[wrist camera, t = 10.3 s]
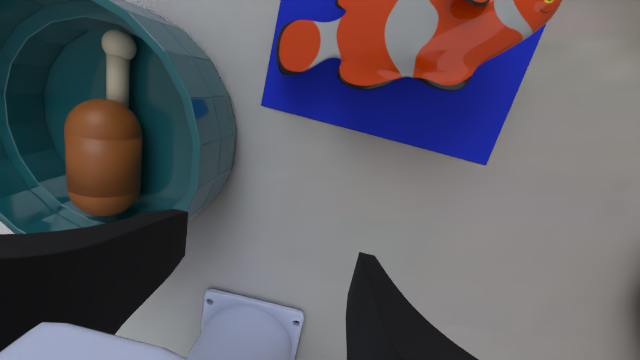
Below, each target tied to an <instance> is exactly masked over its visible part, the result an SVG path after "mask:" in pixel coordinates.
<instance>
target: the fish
mask: <svg viewBox="0 0 640 360" xmlns="http://www.w3.org/2000/svg"><path fill="white" fill-rule="evenodd" d="M561 1H562V0H334V6H335V7H336V8H338V9H340V10H342V11H345V13H344V14H343V15H342V16H341V17H339V18H337V19H335V20H331V21H317V20H312V19H294V20H290V21H288V22H286V23H285V24H284V25H283V26H282V27H281V28H280V30H279V32H278V35H277V38H276V42H275V61H276V66H277V69H278V71H279V73H280V74H282V75H283V76H296V75H300V74H302V73H304V72H307V71H309V70H310V69H312V68H314V67H316V66H317V65H319V64H321V63H322V62H324V61H326V60H329V59H338V60H340V64H339V66H338V68H337V71H336V77H337V79H338V80H339V81H340V82H341V83H342V84H343V85H344V86H346V87H348V88H351V89H354V90H357V91H374V90H378V89H381V88H384V87H386V86H388V85H390V84H392V83H394V82H396V81H398V80H400V79H403V78H412V79H414V80H416V81H418V82H420V83H422V84H424V85H426V86H428V87H430V88H433V89H436V90H440V91H444V92H457V91H460V90H462V89H463V88H465V87H466V86H467V85H468V84H469V82H470V80H471V78H472V77H473V75H474V73H475V71H476V70H477V68H478V67H479V66H481V65H483V64H484V63H486V62H488V61H490V60H492V59H494V58H496V57H498V56H500V55H502V54H503V53H505V52H507V51H508V50H510V49H512V48H514V47H515V46H517V45H519V44H520V43H522V42H523V41H525V40H526V39H528V38H529V37H531V36H532V35H533V34H535V33H536V32H537V31H539V30H540V29H541V28H542V27H544V26H545V25H546V23H547V22H548V21H549V20H550V19H551V18H552V16H553V15H554V14H555V12H556V11H557V9H558V7H559V6H560V4H561Z"/></svg>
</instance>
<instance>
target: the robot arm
mask: <svg viewBox="0 0 640 360" xmlns="http://www.w3.org/2000/svg"><path fill="white" fill-rule="evenodd" d="M187 224H188V212H187V211H182V210H178V209H167V210H162V211H158V212H153V213H149V214H145V215H141V216H137V217H133V218H128V219H124V220H119V221H115V222H110V223H105V224H100V225H95V226H90V227H83V228H76V229H69V230H61V231H50V232H38V233H26V234H0V360H295V355H296V351H297V346H298V342H299V338H300V333H301V329H302V324H303V320H304V313H303V312H302V311H301V310H297V309H293V308H289V307H285V306H281V305H277V304H273V303H269V302H265V301H261V300H257V299H253V298H249V297H245V296H241V295H236V294H232V293H228V292H224V291H220V290H216V289H208V290H207V291H206V293H205V296H204V305H203V314H202V323H201V333H200V336H199V337H198V339H197V341H196V342H195V344H194V345H193V347H192V349H191V350H190V352H189V353H188V355H187V357H186V358H184V357H182V356H180V355H178V354H176V353H174V352H172V351H170V350H168V349H166V348H163V347H159V346H155V345H151V344H147V343H143V342H139V341H135V340H131V339H127V338H123V337H120V336H116V335H115V333H116V332H117V331H118V330H119V328H120V327H121V326H122V325H123V324H124V323H125V321H126V320H127V319H128V318H129V317H130V316H131V315H132V314H133V313H134V312H135V311H136V310H137V309H138V308H139V307H140V306H141V305H142V304H143V303H144V302H145V301H146V299H147V298H148V297H149V296H150V295H151V294H152V293H153V292H154V291H155V290H156V289H157V288H158V287H159V286H160V285H161V284H162V283H163V282H164V281H165V280H166V279H167V278H168V277H169V276H170V275H171V273H172V272H173V271H174V270H175V268H176V267H177V266H178V264H179V263H180V261H181V260H182V258H183V257H184V256H185V248H186V236H187ZM209 299H211V300H212V301H213V302H212V301H210V300H209ZM295 321H298V323H296V322H295ZM346 340H347V360H478V359H477V358H475V357H474V356H472V355H471V354H469V353H468V352H466V351H465V350H464V349H462V348H461V347H459V346H458V345H456V344H455V343H454V342H453V341H451V340H450V339H449V338H447V337H446V336H445V335H444V334H442V333H441V332H440V331H439V330H438V329H436V328H435V327H434V326H433V325H432V324H431V323H429V322H428V321H427V320H426V319H425V318H424V317H423V316H422V315H421V314H420V313H419V312H418V311H417V310H416V309H415V308H414V307H413V306H412V305H411V304H410V303H409V302H408V300H407V299H406V298H405V297H404V296H403V294H402V293H401V292H400V291H399V290H398V288H397V287H396V286H395V284H394V283H393V282H392V280H391V279H390V278H389V276H388V275H387V273H386V272H385V271H384V269H383V268H382V266H381V265H380V263H379V262H378V260H377V259H376V257H375V256H373V255H369V254H365V253H361V252H359V256H358V259H357V263H356V267H355V270H354V274H353V278H352V281H351V285H350V289H349V292H348V299H347V309H346Z"/></svg>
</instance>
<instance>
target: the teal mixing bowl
mask: <svg viewBox="0 0 640 360" xmlns="http://www.w3.org/2000/svg"><path fill="white" fill-rule="evenodd" d="M113 29H118V30H122V31H125V32H126V33H128V34H129V35H130V36H131V37H132V38H133V39H134V41H135V43H136V46H137V51H136V54H135V56H134V57H133V58H132V59H131V60H130V74H129V109H130V110H131V111H132V112H133V113H134V114H135V115H136V116H137V118H138V120H139V122H140V124H141V127H142V134H143V139H142V170H141V190H140V193H139V196H138V198H137V200H136V201H135V203H134V204H133V205H132V206H131V207H130V208H128V209H127V210H125V211H123V212H122V213H119V214H116V215H112V216H95V215H91V214H88V213H86V212H83V211H82V210H80V209H79V208H77V207H76V206H75V205H74V204H73V202H72V201H71V199H70V197H69V195H68V192H67V184H66V162H65V139H64V125H65V121H66V118H67V116H68V114H69V113H70V112H71V110H72V109H73V108H75V107H76V106H77V105H79V104H81V103H82V102H85V101H88V100H92V99H106V53H105V51H104V50H103V47H102V37H103V35H104V34H105V33H106V32H107V31H109V30H113ZM235 138H236V128H235V123H234V118H233V112H232V107H231V101H230V97H229V95H228V93H227V91H226V89H225V87H224V85H223V83H222V81H221V79H220V77H219V75H218V73H217V71H216V69H215V67H214V65H213V63H212V61H211V59H210V58H209V57H208V56H207V55H206V54H205V53H204V52H203V51H202V50H201V48H200V47H199V46H198V45H197V44H196V43H195V42H194V41H193V40H192V39H191V38H190V37H189V35H188V34H187V33H186V32H185V31H183V30H182V29H181V28H179V27H177V26H176V25H174V24H172V23H170V22H169V21H167V20H165V19H164V18H162V17H160V16H159V15H157V14H155V13H154V12H152V11H150V10H147V9H145V8H142V7H140V6H137V5H134V4H132V3H129V2H127V1H124V0H0V221H1V222H2V223H3V224H4V225H5V226H7V227H8V228H9V229H10V230H11V231H12V232H13V233H15V234H26V233H38V232H50V231H61V230H69V229H76V228H83V227H90V226H95V225H100V224H105V223H110V222H115V221H119V220H124V219H128V218H133V217H137V216H141V215H145V214H149V213H153V212H158V211H162V210H167V209H178V210H182V211H187V212H188V222H189V221H190V220H192V219H193V218H194V217H195V216H197V215H198V214H199V213H200V212H201V211H202V210H203V209H204V208H205V207H206V206H207V205H208V204H209V203H211V202H212V201H213V200H214V199H215V198H216V197H217V196H218V194H219V193H220V191H221V189H222V187H223V185H224V183H225V181H226V179H227V176H228V174H229V172H230V170H231V168H232V163H233V155H234V146H235Z"/></svg>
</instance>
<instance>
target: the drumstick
mask: <svg viewBox="0 0 640 360" xmlns="http://www.w3.org/2000/svg"><path fill="white" fill-rule="evenodd" d="M102 47H103V50H104V51H105V53H106V99H92V100H88V101H85V102H82V103H81V104H79V105H77V106H76V107H75V108H73V109H72V110H71V112H70V113H69V114H68V116H67V118H66V121H65V125H64V139H65V162H66V184H67V192H68V195H69V197H70V199H71V201H72V202H73V204H74V205H75V206H76V207H77V208H79V209H80V210H82V211H83V212H86V213H88V214H91V215H95V216H112V215H116V214H119V213H122V212H123V211H125V210H127V209H128V208H130V207H131V206H132V205H133V204H134V203H135V201H136V200H137V198H138V196H139V193H140V190H141V170H142V139H143V134H142V127H141V124H140V122H139V120H138V118H137V116H136V115H135V114H134V113H133V112H132V111H131V110H130V109H129V74H130V60H131V59H132V58H133V57H134V56H135V54H136V51H137V46H136V43H135V41H134V39H133V38H132V37H131V36H130V35H129V34H128V33H126V32H125V31H122V30H118V29H113V30H109V31H107V32H106V33H105V34H104V35H103V37H102Z"/></svg>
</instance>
